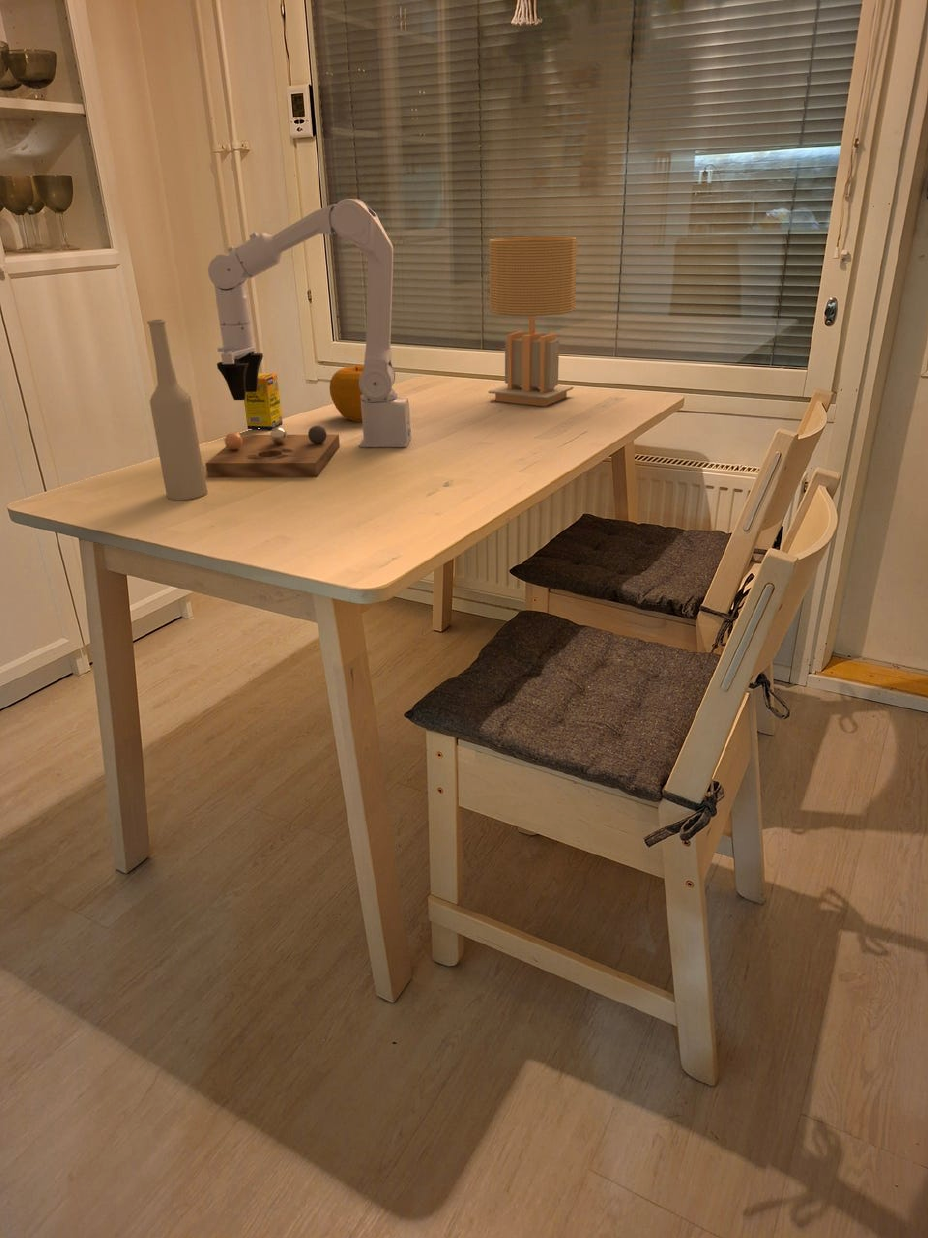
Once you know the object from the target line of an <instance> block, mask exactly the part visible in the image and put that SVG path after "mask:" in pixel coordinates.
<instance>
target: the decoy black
mask: <svg viewBox="0 0 928 1238" xmlns="http://www.w3.org/2000/svg"><path fill="white" fill-rule="evenodd" d="M326 434H327V432H326V429H325V428H324V427H322V426H320V425H313V426H312V427H311V428H310V429H309V430H308V434H307V435H308V436H309V439H310V441H311V442H313V443H315V444H321V443H323V442H324V441H325V439H326Z"/></svg>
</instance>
